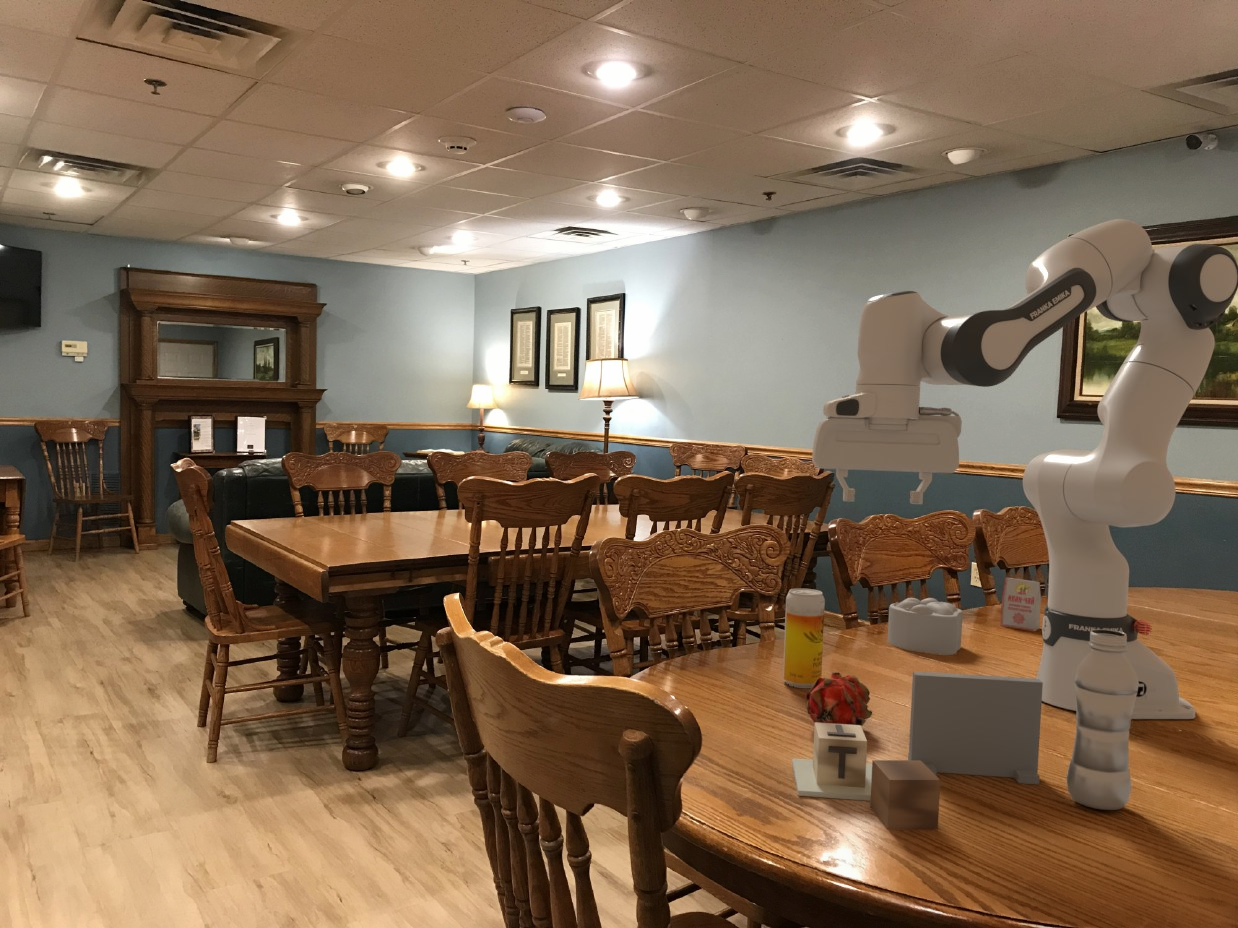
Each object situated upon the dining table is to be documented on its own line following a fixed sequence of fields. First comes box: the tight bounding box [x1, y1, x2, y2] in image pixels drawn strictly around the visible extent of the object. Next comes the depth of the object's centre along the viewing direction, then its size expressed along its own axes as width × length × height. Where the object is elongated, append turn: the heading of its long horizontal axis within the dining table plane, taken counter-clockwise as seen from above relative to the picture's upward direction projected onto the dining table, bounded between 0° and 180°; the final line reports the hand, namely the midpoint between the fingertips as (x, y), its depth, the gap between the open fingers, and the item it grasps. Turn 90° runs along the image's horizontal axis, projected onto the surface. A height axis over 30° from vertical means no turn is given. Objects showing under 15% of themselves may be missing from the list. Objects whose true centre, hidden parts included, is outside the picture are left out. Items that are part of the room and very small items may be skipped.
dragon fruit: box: [805, 671, 873, 727], centre depth 131 cm, size 8×8×12 cm
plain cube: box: [869, 759, 941, 831], centre depth 103 cm, size 6×6×6 cm
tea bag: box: [999, 577, 1042, 632], centre depth 198 cm, size 4×7×10 cm, turn 51°
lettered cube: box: [812, 722, 868, 788], centre depth 113 cm, size 6×6×6 cm
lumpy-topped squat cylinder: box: [887, 597, 963, 656], centre depth 180 cm, size 10×13×9 cm
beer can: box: [782, 588, 826, 689], centre depth 152 cm, size 6×6×15 cm
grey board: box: [907, 671, 1043, 785], centre depth 117 cm, size 15×5×12 cm, turn 84°
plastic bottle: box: [1065, 629, 1139, 811], centre depth 108 cm, size 6×7×20 cm
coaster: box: [791, 757, 872, 802], centre depth 113 cm, size 10×10×1 cm
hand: (882, 502), depth 136 cm, fingers open, 8 cm apart
